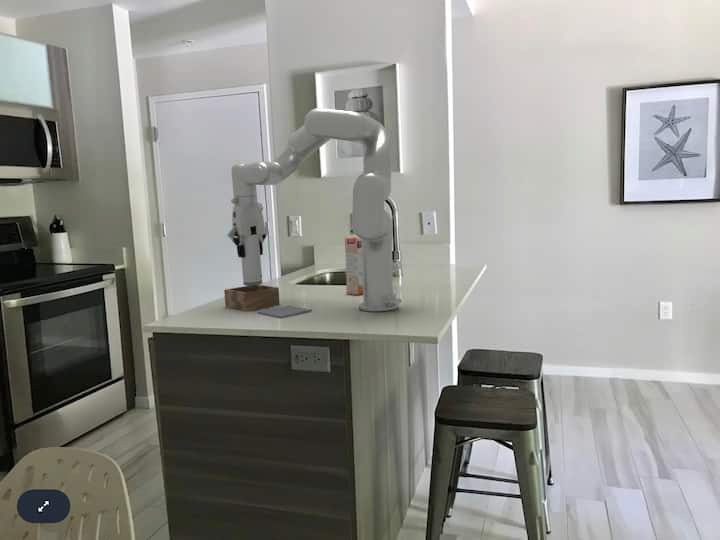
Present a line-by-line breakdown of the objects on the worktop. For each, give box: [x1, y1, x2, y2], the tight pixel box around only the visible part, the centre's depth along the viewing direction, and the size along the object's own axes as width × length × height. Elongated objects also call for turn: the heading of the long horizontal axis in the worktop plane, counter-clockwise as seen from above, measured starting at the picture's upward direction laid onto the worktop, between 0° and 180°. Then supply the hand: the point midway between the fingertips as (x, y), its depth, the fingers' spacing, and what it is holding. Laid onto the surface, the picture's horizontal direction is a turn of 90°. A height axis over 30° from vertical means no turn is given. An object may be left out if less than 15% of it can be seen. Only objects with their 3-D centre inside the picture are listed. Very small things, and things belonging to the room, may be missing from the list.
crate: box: [224, 284, 281, 313], centre depth 195 cm, size 13×13×6 cm
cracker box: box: [344, 235, 363, 296], centre depth 212 cm, size 14×6×21 cm, turn 146°
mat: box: [257, 304, 313, 319], centre depth 183 cm, size 12×12×1 cm
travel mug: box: [240, 226, 263, 286], centre depth 193 cm, size 6×7×20 cm
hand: (250, 255), depth 193 cm, fingers closed on travel mug, 6 cm apart
